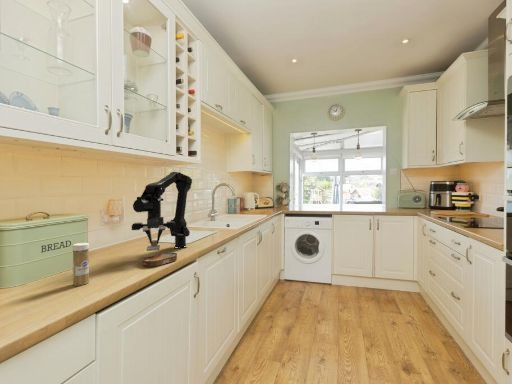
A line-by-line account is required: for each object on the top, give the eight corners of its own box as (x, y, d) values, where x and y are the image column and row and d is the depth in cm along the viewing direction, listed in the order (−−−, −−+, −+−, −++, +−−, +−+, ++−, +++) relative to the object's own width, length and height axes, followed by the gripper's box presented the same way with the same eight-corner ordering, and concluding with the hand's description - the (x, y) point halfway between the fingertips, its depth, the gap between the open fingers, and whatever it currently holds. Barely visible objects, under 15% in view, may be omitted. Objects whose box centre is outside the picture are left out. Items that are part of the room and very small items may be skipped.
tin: (169, 251, 117) (181, 252, 112) (169, 258, 117) (181, 259, 112) (138, 259, 105) (150, 260, 100) (138, 266, 105) (150, 268, 100)
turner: (149, 244, 122) (149, 240, 122) (160, 243, 124) (160, 239, 124) (146, 251, 107) (146, 246, 107) (159, 250, 109) (159, 245, 109)
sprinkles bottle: (81, 286, 82) (81, 245, 82) (69, 285, 82) (68, 245, 82) (92, 281, 86) (92, 242, 86) (80, 280, 87) (80, 242, 87)
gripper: (129, 212, 108) (129, 249, 108) (175, 211, 113) (175, 246, 113) (133, 210, 118) (133, 244, 118) (175, 209, 124) (175, 241, 124)
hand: (154, 243), depth 118 cm, fingers closed on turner, 2 cm apart
